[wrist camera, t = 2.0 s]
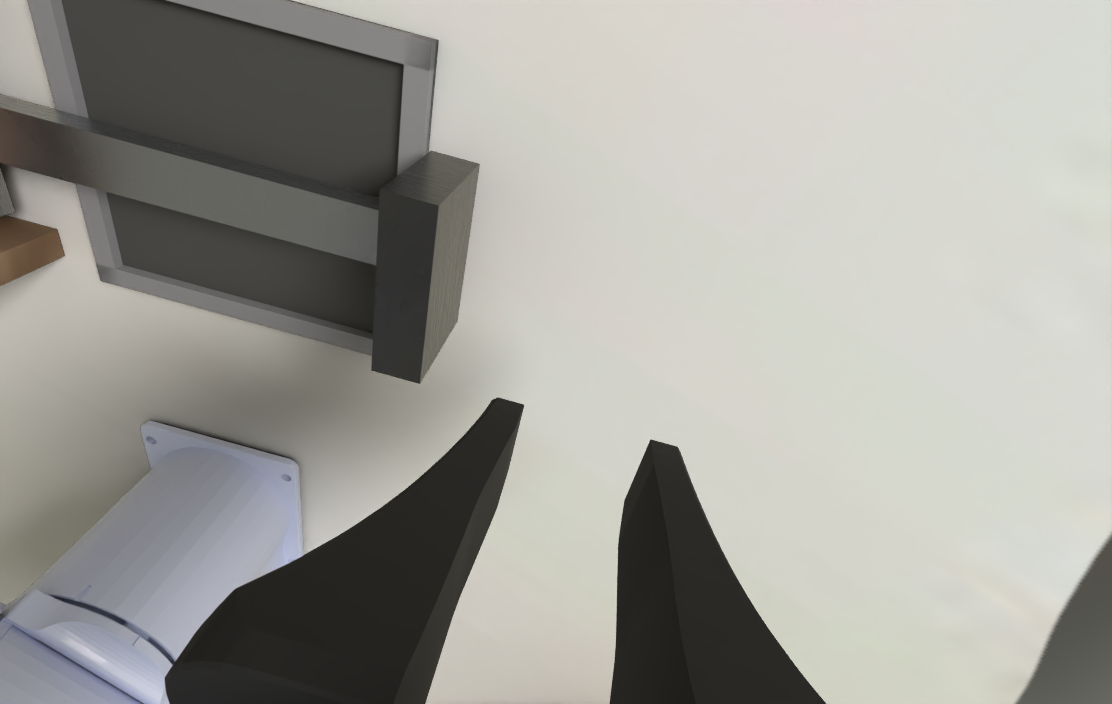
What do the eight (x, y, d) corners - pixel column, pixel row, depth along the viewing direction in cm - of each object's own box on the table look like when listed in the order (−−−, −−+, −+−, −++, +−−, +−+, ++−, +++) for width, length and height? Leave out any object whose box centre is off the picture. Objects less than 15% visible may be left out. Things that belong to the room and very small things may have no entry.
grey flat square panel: (409, 356, 24) (404, 364, 24) (112, 274, 24) (100, 281, 24) (438, 40, 17) (431, 42, 17) (27, -71, 18) (8, -73, 17)
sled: (455, 332, 22) (411, 407, 18) (-185, 156, 22) (-361, 194, 18) (482, 148, 18) (433, 194, 14) (-297, -63, 18) (-550, -73, 14)
